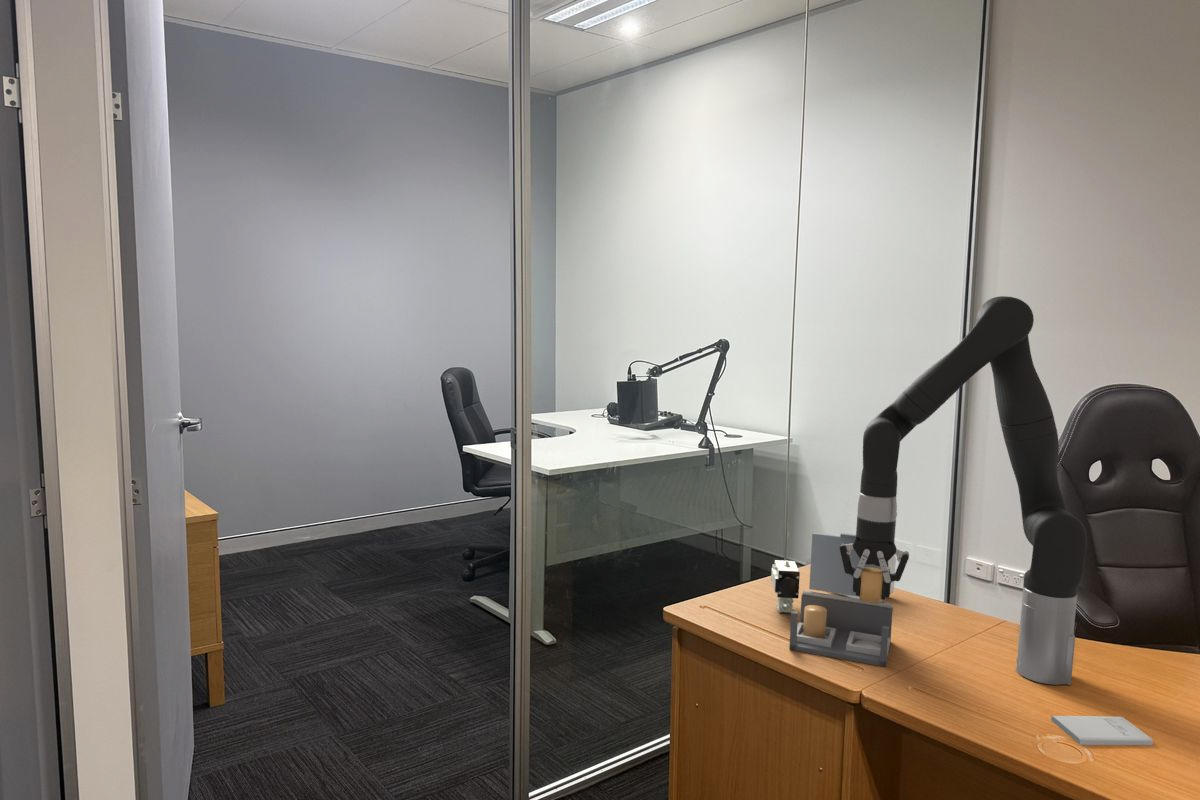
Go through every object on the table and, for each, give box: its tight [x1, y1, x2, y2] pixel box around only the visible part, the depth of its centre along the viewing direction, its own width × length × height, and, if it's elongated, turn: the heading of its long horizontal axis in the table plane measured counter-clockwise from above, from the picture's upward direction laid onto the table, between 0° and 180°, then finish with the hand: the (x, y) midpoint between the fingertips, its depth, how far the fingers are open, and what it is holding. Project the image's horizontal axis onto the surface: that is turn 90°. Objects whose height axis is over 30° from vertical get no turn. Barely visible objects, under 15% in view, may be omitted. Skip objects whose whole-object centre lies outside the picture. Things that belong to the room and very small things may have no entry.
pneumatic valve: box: [770, 559, 801, 614], centre depth 193 cm, size 6×12×12 cm, turn 174°
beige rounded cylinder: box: [859, 567, 884, 603], centre depth 170 cm, size 5×5×6 cm
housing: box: [789, 590, 894, 668], centre depth 173 cm, size 19×14×8 cm
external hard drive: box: [1050, 715, 1154, 746], centre depth 140 cm, size 2×8×12 cm
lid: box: [808, 532, 887, 602], centre depth 178 cm, size 16×13×1 cm
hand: (871, 596), depth 170 cm, fingers closed on beige rounded cylinder, 4 cm apart
